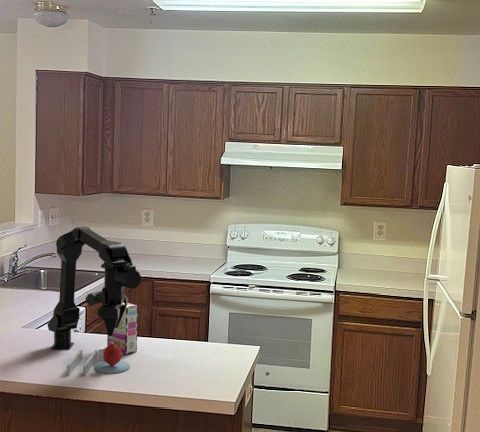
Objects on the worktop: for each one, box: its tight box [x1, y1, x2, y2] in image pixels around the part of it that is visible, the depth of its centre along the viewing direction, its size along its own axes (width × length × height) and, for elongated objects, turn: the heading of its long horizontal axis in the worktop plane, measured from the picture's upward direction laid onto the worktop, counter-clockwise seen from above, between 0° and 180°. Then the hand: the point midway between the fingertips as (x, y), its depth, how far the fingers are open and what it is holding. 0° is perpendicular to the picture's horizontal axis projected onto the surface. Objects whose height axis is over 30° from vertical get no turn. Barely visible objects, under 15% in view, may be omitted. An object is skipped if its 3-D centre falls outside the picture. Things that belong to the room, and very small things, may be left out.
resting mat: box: [94, 360, 131, 375], centre depth 210 cm, size 11×11×1 cm
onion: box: [102, 342, 123, 366], centre depth 210 cm, size 6×6×8 cm
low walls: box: [66, 349, 98, 376], centre depth 210 cm, size 16×6×3 cm, turn 0°
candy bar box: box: [106, 302, 139, 355], centre depth 228 cm, size 11×5×16 cm, turn 47°
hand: (113, 331), depth 209 cm, fingers open, 9 cm apart
